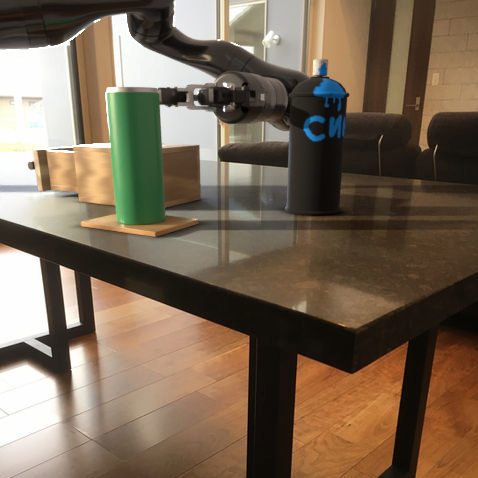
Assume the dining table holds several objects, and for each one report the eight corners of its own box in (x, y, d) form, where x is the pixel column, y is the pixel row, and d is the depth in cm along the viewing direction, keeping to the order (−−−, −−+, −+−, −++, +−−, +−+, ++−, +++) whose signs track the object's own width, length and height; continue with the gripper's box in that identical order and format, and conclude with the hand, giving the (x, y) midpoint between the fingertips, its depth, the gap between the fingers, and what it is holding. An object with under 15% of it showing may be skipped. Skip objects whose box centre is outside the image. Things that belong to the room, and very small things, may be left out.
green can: (106, 221, 65) (93, 87, 60) (138, 214, 70) (129, 89, 65) (144, 226, 63) (135, 86, 57) (175, 218, 68) (169, 88, 62)
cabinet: (79, 201, 84) (72, 145, 81) (129, 192, 93) (125, 142, 90) (155, 210, 77) (151, 149, 73) (201, 199, 86) (199, 144, 83)
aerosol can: (274, 208, 78) (278, 60, 71) (319, 204, 82) (327, 63, 74) (305, 217, 71) (313, 55, 64) (352, 212, 75) (365, 58, 67)
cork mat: (80, 226, 66) (80, 221, 65) (128, 215, 73) (128, 210, 73) (155, 237, 60) (155, 232, 60) (199, 223, 67) (199, 219, 67)
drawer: (21, 189, 91) (15, 148, 88) (69, 182, 99) (64, 145, 97) (100, 197, 82) (96, 152, 79) (145, 189, 91) (142, 148, 88)
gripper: (206, 73, 84) (141, 66, 71) (285, 71, 78) (230, 62, 65) (207, 123, 87) (144, 124, 74) (284, 124, 80) (230, 126, 67)
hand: (184, 95), depth 69 cm, fingers open, 8 cm apart
